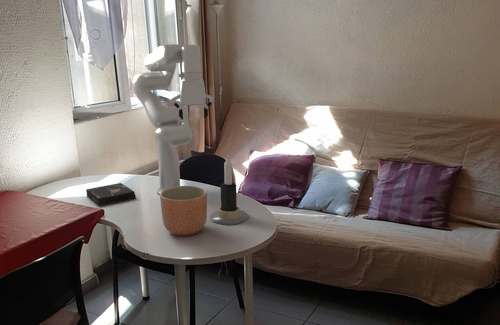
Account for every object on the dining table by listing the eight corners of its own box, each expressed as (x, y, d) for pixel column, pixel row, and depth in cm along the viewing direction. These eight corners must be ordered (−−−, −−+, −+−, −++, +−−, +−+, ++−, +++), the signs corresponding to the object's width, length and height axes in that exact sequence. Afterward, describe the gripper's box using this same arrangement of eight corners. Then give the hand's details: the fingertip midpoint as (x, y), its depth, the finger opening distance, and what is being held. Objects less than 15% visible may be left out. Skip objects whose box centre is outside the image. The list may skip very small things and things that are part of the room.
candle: (229, 211, 183) (228, 152, 177) (237, 215, 180) (237, 155, 173) (220, 215, 180) (218, 155, 173) (228, 218, 176) (227, 157, 170)
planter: (168, 243, 157) (166, 203, 153) (158, 226, 172) (155, 189, 168) (214, 235, 163) (213, 196, 159) (200, 219, 178) (199, 183, 174)
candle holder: (208, 212, 185) (207, 203, 184) (243, 209, 188) (243, 200, 187) (213, 226, 171) (213, 216, 170) (251, 222, 174) (251, 213, 173)
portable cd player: (136, 199, 203) (135, 191, 202) (98, 207, 194) (97, 198, 193) (122, 190, 216) (121, 182, 215) (87, 197, 206) (86, 189, 205)
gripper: (170, 77, 174) (173, 121, 178) (214, 76, 177) (215, 119, 182) (169, 76, 181) (171, 118, 185) (211, 75, 184) (212, 116, 189)
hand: (193, 118), depth 183 cm, fingers open, 9 cm apart
